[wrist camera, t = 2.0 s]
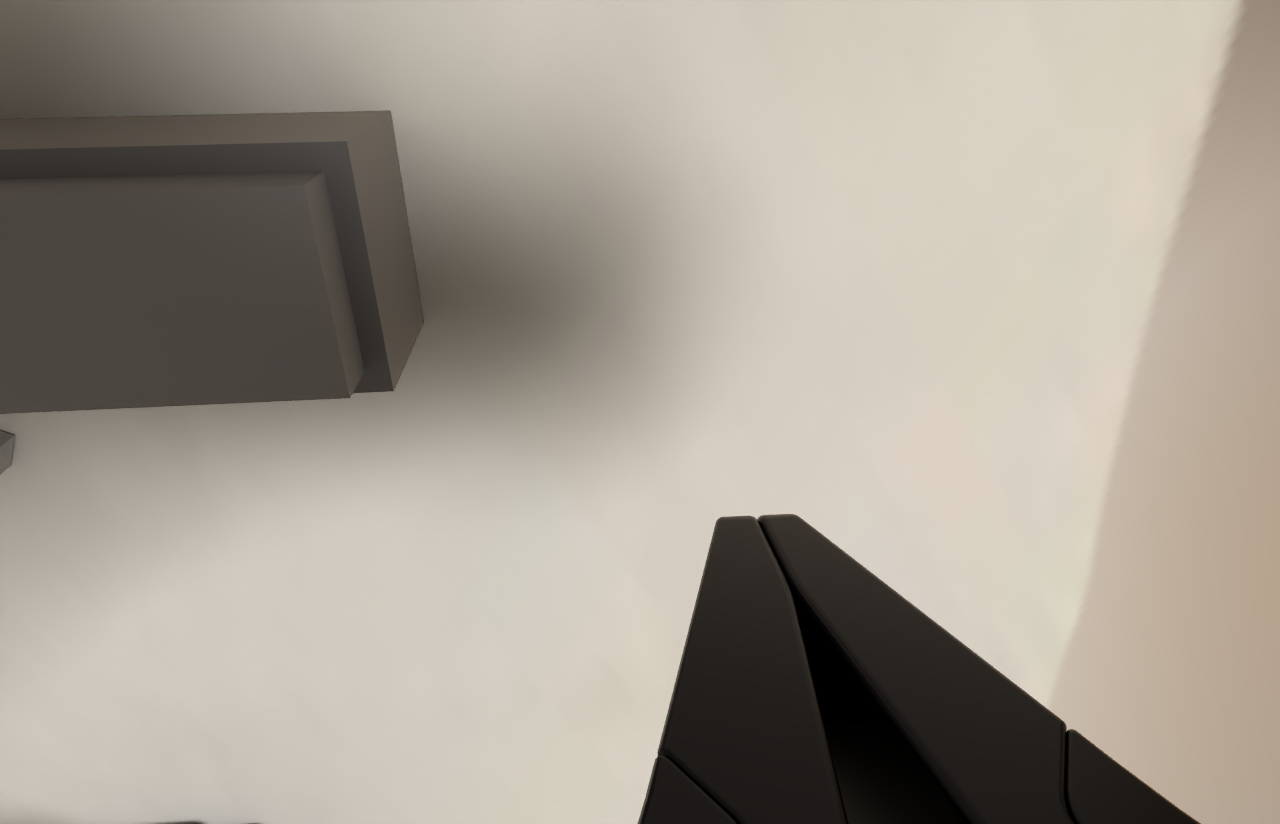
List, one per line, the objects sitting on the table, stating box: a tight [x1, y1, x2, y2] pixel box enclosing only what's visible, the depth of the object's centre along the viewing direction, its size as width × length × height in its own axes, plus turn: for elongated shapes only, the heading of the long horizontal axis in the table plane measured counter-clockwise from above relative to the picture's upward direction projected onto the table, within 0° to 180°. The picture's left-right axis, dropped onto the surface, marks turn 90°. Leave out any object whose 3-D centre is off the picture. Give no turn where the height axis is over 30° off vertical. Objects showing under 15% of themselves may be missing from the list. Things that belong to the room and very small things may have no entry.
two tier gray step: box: [0, 111, 424, 414], centre depth 16 cm, size 5×9×5 cm, turn 91°
